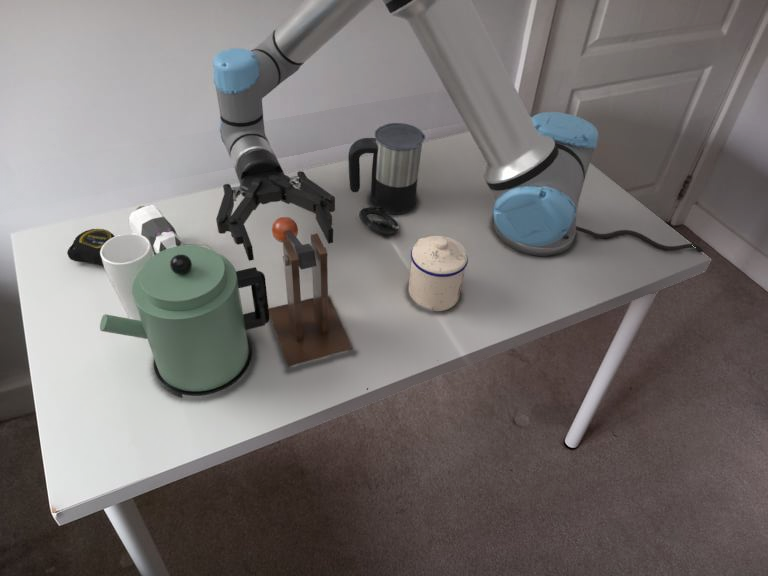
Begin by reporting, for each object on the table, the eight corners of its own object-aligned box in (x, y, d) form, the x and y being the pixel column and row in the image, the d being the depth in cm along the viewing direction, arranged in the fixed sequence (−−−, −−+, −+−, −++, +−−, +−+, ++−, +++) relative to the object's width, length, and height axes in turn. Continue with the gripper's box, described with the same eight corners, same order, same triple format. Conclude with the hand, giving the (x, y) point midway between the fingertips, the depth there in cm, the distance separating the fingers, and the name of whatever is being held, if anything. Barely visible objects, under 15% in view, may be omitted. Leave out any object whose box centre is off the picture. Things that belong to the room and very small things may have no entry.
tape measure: (69, 265, 101) (62, 248, 98) (92, 240, 105) (86, 223, 103) (106, 273, 100) (100, 256, 97) (128, 247, 105) (122, 231, 102)
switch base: (267, 313, 95) (257, 227, 83) (327, 299, 98) (326, 213, 86) (288, 370, 88) (280, 284, 75) (352, 352, 91) (354, 266, 78)
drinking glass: (131, 305, 95) (105, 232, 84) (175, 304, 96) (155, 232, 85) (121, 337, 90) (93, 264, 80) (167, 336, 91) (145, 264, 80)
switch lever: (271, 240, 94) (267, 216, 92) (296, 235, 95) (292, 211, 93) (295, 276, 81) (291, 249, 79) (323, 270, 82) (320, 243, 80)
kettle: (261, 310, 96) (248, 208, 81) (284, 377, 87) (274, 275, 72) (118, 345, 89) (75, 240, 75) (127, 421, 80) (81, 319, 66)
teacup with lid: (469, 306, 99) (481, 254, 91) (419, 318, 96) (426, 265, 88) (439, 260, 107) (448, 208, 99) (392, 270, 104) (397, 217, 96)
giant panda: (133, 244, 105) (119, 201, 98) (163, 233, 108) (152, 190, 101) (168, 293, 97) (155, 249, 91) (200, 280, 100) (190, 236, 93)
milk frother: (407, 184, 123) (413, 119, 113) (438, 230, 113) (448, 163, 102) (341, 195, 119) (341, 129, 108) (367, 245, 109) (370, 177, 98)
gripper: (323, 173, 110) (365, 247, 96) (190, 197, 103) (214, 280, 89) (322, 137, 105) (366, 209, 91) (182, 160, 97) (206, 242, 83)
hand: (291, 244), depth 90 cm, fingers open, 12 cm apart
